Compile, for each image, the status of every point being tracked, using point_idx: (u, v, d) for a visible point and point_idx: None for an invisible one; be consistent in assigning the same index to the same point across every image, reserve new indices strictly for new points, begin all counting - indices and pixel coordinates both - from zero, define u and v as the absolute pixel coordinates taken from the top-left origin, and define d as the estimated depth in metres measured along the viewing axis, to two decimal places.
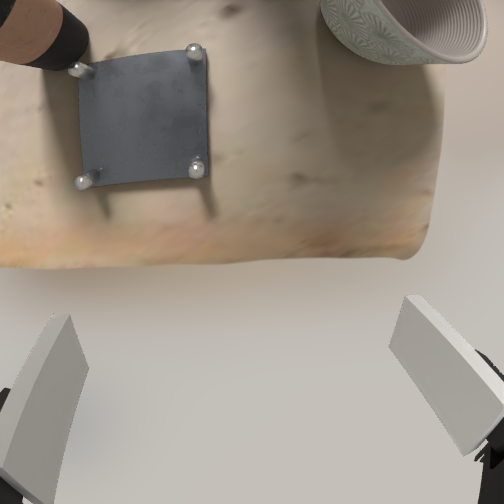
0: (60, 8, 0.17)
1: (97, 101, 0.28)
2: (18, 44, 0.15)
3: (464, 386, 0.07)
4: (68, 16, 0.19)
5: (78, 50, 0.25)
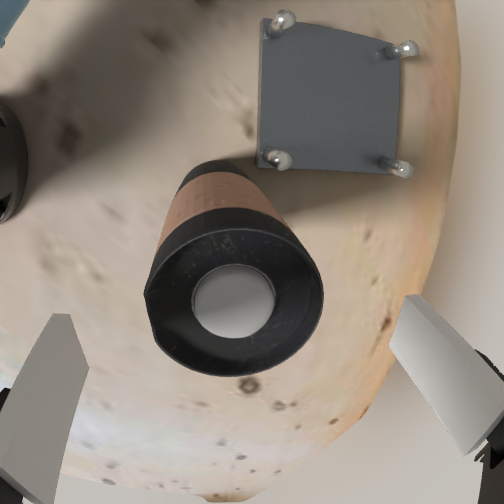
0: (202, 176, 0.20)
1: (310, 144, 0.28)
2: None
3: (464, 386, 0.07)
4: (206, 170, 0.22)
5: (237, 168, 0.28)
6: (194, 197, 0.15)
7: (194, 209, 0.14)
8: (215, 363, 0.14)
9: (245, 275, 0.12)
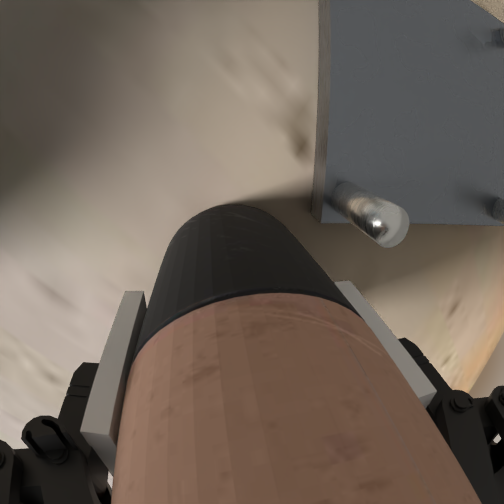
0: (211, 316, 0.06)
1: (411, 178, 0.14)
2: None
3: None
4: (221, 267, 0.08)
5: (281, 226, 0.13)
6: None
7: None
8: None
9: None
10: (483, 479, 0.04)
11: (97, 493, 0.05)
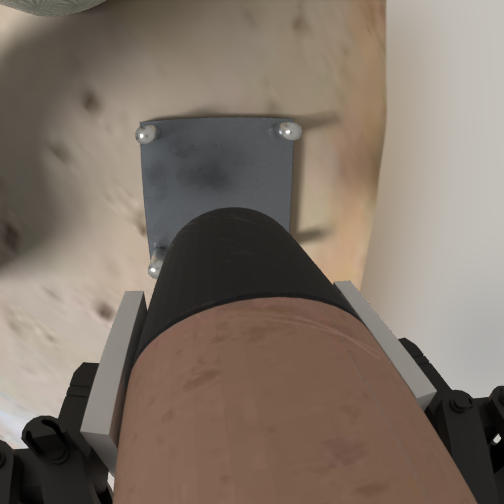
0: (211, 320, 0.06)
1: None
2: None
3: None
4: (221, 271, 0.08)
5: (281, 228, 0.13)
6: None
7: None
8: None
9: None
10: (483, 479, 0.04)
11: (97, 493, 0.05)
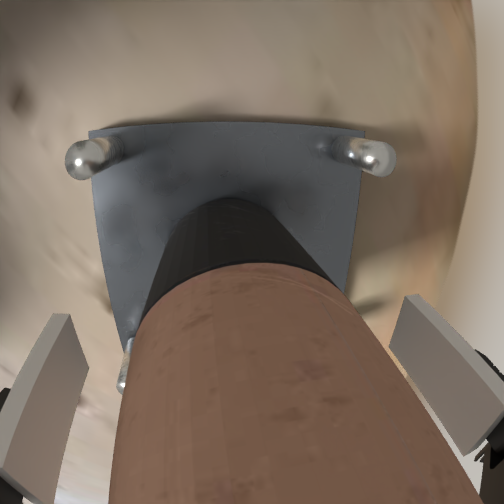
0: (207, 280, 0.08)
1: None
2: None
3: (464, 386, 0.07)
4: (216, 245, 0.10)
5: (272, 216, 0.15)
6: (195, 497, 0.03)
7: None
8: None
9: None
10: None
11: None
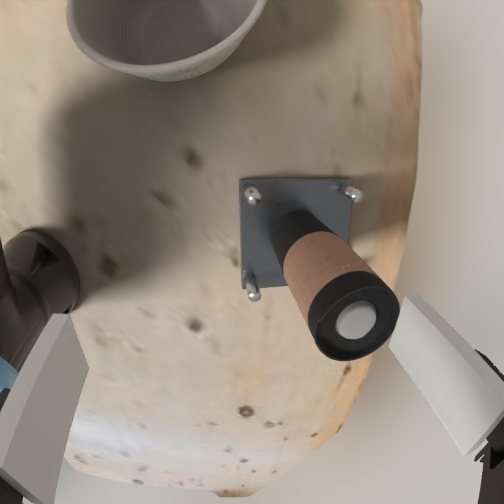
0: (310, 235, 0.31)
1: (277, 271, 0.42)
2: None
3: (464, 386, 0.07)
4: (307, 227, 0.33)
5: None
6: (324, 259, 0.26)
7: (333, 271, 0.24)
8: (340, 354, 0.24)
9: (366, 307, 0.22)
10: None
11: None
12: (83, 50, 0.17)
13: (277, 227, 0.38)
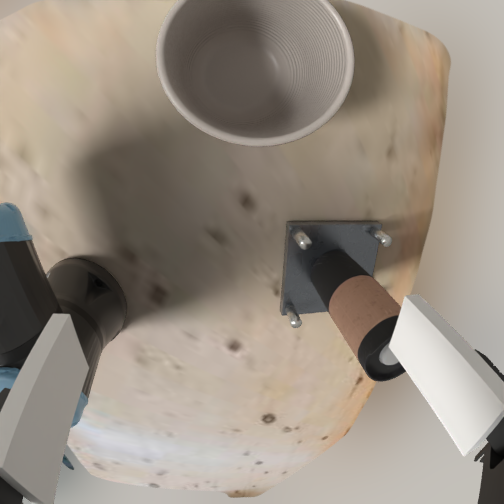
0: (353, 279, 0.36)
1: (313, 300, 0.48)
2: None
3: (464, 386, 0.07)
4: (349, 271, 0.38)
5: (351, 258, 0.44)
6: (370, 303, 0.32)
7: (379, 315, 0.30)
8: (379, 376, 0.30)
9: None
10: None
11: None
12: (179, 110, 0.22)
13: (318, 265, 0.44)
